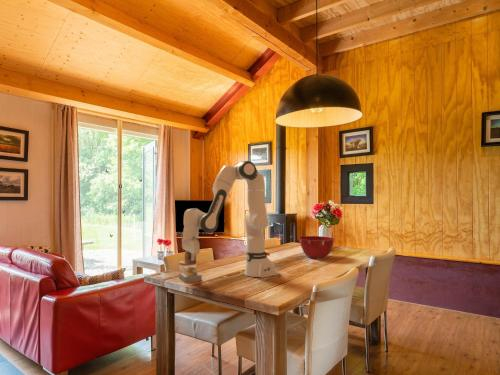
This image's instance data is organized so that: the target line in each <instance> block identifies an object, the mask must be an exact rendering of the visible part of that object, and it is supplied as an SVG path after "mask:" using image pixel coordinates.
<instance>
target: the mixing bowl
mask: <svg viewBox="0 0 500 375" xmlns="http://www.w3.org/2000/svg"><path fill="white" fill-rule="evenodd" d="M298 240H299V243H300V244H299V245H300V246H301V250H302V252H303V254H304V255H305V256H306V257H308V258H309V259H310V258H311V259H325V258H326V257H328V255H329V254H330V253H331V250H332V249H333V245H334V241H335V238H334V237H329V236H318V235H306V236H299V237H298Z"/></svg>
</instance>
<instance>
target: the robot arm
mask: <svg viewBox="0 0 500 375" xmlns="http://www.w3.org/2000/svg"><path fill="white" fill-rule="evenodd" d="M236 180H245V181H246V183H247V205H248V206H247V207H248V211H249V212H248V213H247V214H246V215H245V216H244V223H245V231H246V255H245V258H246V263H245V269H244V272H243V273H244V274H243V275H244V276H246V277H251V278H252V277H253V278H268V277H271V276H276V275H280V271H279V270H276V264H275V263H274V261H272V260H270V258H268V257H269V256H270V255H271V253H270V252H266V250H265V249H266V248H265V246H266V245H265V242H266V241H265V236H264V231H263V230H265V229H267V228H268V226H269V219H268V214H267V213H268V212H267V208H266V185H265V178H264V175H263V174H262V173H260V172H259V171H258V169H257V167H256V165H255V164H254V162H252V161H250V160H243V161H240V162H237V163H236V164H234V165H233V166H231V165H223V167H222V168H221V169H220V170H219V172H218V174H217V176H216V178H215V180H214V182H213V186H212V189H211V190H212V193H213V201H212V202H211V205H210V207H209V209H208V212H203V211H202V210H200V209H198V208H197V207H195V208H194V207H193V208H187V209H186V210H185V211H184V214H183V226H184V227H183V231H182V233H181V234H180V237H181V247H182V250H184V251H185V252H190V253H191V261H194V257H195V254H196V255H199V254H200V252H201V251H200V241H199V240H198V239H199V234H200V233H199V230H202V231H203V232H205V233H207V234H208V233H209V234H210V233H213V232H215V231H216V230H217V229H218V226H219V217H220V214H221V211H222V209H223V206H224V204H225V201H226V199H227V197H228V196H229V194H230V192H231V190H232V188H233V186H234V183H235V182H236Z"/></svg>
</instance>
